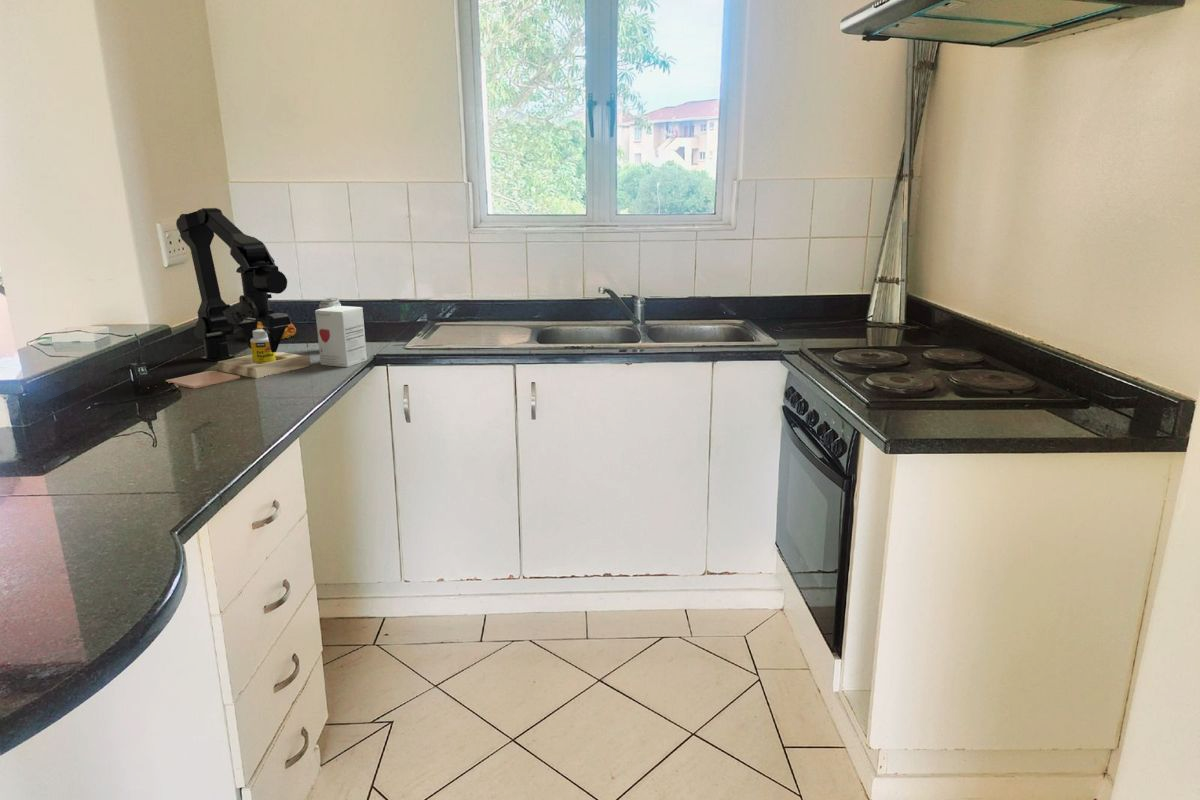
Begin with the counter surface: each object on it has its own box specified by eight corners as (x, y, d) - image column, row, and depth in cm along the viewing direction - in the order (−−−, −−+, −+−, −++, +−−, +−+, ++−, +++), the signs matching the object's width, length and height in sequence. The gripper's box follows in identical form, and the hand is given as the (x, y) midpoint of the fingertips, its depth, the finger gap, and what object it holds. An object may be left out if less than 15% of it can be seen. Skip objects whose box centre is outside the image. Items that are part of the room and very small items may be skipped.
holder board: (219, 371, 200) (218, 361, 199) (273, 359, 213) (272, 350, 212) (257, 378, 192) (255, 368, 191) (310, 365, 205) (309, 356, 204)
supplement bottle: (256, 371, 199) (250, 333, 196) (252, 367, 203) (247, 329, 200) (278, 369, 201) (274, 330, 199) (274, 365, 206) (269, 327, 203)
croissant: (238, 347, 240) (231, 323, 237) (271, 332, 254) (265, 309, 251) (276, 349, 236) (270, 324, 233) (307, 333, 250) (302, 309, 246)
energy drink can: (328, 353, 220) (323, 301, 216) (320, 350, 224) (315, 299, 220) (349, 350, 224) (343, 299, 220) (340, 347, 228) (335, 297, 224)
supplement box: (319, 365, 205) (313, 309, 201) (341, 358, 213) (335, 304, 209) (347, 367, 202) (341, 311, 198) (368, 360, 210) (363, 306, 206)
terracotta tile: (166, 382, 188) (165, 380, 188) (212, 372, 198) (211, 370, 198) (194, 388, 182) (193, 386, 182) (240, 378, 192) (239, 375, 192)
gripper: (204, 292, 195) (213, 352, 199) (249, 297, 185) (257, 360, 190) (244, 287, 204) (251, 344, 208) (288, 291, 194) (295, 351, 199)
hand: (262, 350), depth 201 cm, fingers open, 9 cm apart
